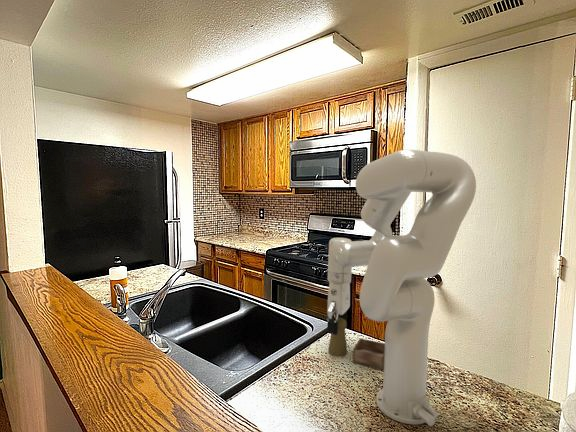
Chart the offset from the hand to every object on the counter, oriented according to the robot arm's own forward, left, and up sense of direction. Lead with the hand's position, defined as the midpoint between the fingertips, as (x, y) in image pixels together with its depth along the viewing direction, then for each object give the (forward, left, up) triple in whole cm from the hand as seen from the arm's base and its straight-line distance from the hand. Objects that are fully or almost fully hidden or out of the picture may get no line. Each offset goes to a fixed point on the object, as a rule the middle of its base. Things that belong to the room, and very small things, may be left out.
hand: (337, 327), depth 101 cm
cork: (-1, 0, -8) cm, 8 cm away
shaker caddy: (-9, -7, -8) cm, 14 cm away
